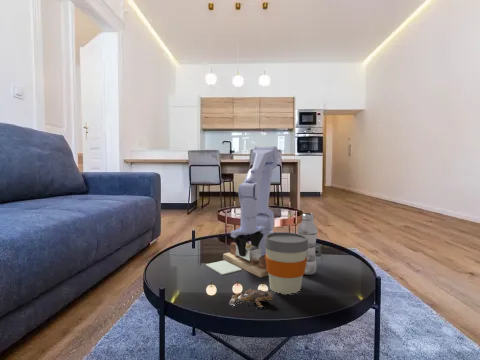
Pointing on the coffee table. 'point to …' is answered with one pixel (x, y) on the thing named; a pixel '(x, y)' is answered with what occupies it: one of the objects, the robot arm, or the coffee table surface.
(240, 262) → the hand plane
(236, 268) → the felt pad
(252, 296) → the frog figurine
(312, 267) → the plastic bottle
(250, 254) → the brass-inlaid steel block
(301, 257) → the reusable coffee cup
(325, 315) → the coffee table surface
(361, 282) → the coffee table surface
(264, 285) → the coffee table surface
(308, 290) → the coffee table surface
